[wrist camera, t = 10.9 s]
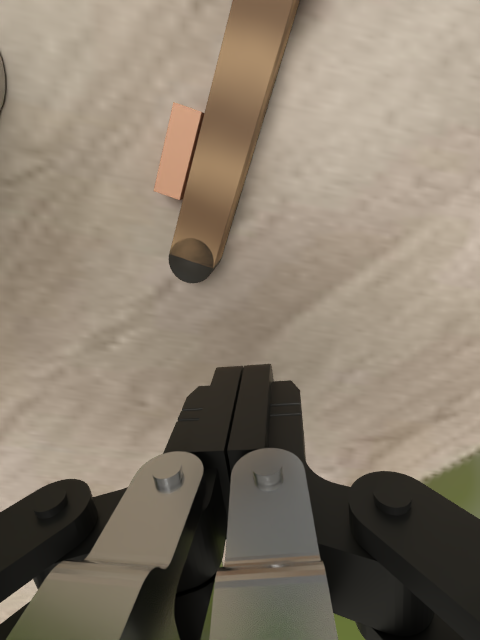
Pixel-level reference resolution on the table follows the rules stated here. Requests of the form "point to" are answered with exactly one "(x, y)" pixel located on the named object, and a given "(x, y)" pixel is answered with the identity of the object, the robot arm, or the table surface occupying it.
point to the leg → (229, 132)
